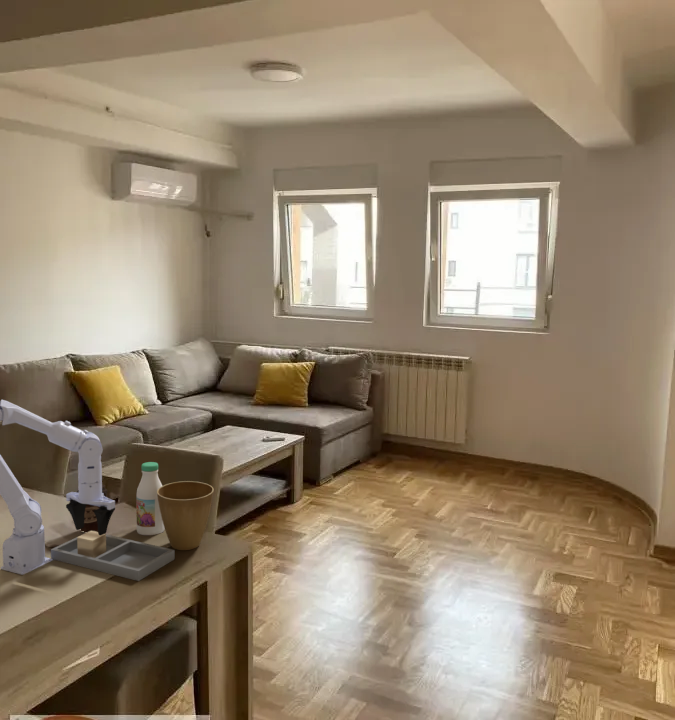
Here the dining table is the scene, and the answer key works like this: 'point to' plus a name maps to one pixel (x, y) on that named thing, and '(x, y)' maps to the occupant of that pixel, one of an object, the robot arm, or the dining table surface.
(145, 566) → the tray
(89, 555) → the maple cube
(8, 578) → the dining table surface
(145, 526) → the milk bottle
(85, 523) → the coffee cup
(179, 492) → the plant pot
